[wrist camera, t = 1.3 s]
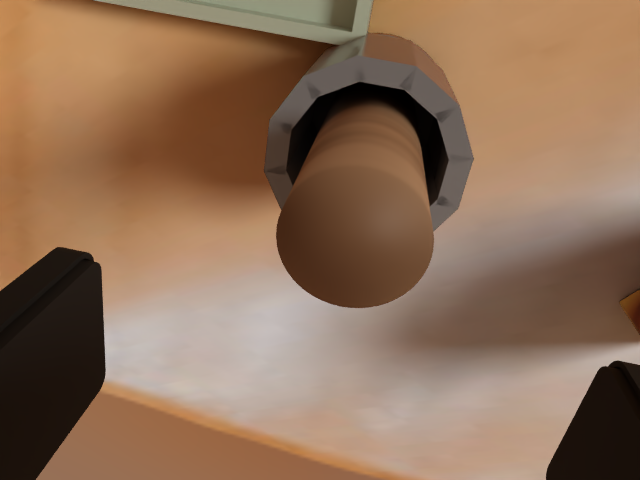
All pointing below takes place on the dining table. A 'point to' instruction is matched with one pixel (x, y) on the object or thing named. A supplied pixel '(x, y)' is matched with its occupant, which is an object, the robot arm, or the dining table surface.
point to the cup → (386, 70)
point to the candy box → (632, 308)
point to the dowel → (360, 203)
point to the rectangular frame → (274, 15)
